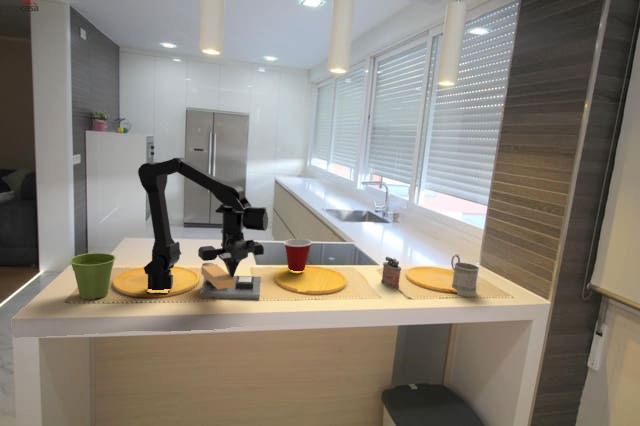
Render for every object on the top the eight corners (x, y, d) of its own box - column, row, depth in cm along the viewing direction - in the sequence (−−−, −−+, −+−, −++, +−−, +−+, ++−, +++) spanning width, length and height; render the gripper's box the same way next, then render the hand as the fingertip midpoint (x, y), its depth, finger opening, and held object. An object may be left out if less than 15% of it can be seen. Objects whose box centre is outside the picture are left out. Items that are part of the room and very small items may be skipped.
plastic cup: (281, 266, 164) (283, 236, 162) (308, 267, 165) (310, 238, 163) (281, 275, 153) (283, 243, 151) (310, 276, 154) (313, 245, 152)
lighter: (401, 287, 150) (404, 261, 149) (394, 289, 148) (397, 262, 147) (385, 280, 157) (388, 255, 155) (379, 281, 155) (381, 256, 153)
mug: (483, 296, 148) (488, 264, 146) (458, 296, 146) (463, 263, 144) (460, 282, 162) (464, 252, 160) (437, 282, 160) (441, 252, 158)
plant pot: (73, 289, 125) (72, 253, 123) (117, 287, 129) (117, 252, 127) (66, 305, 114) (65, 265, 112) (114, 301, 119) (114, 263, 117)
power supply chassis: (198, 297, 127) (199, 282, 126) (207, 278, 143) (207, 265, 142) (259, 299, 129) (260, 284, 128) (260, 280, 145) (261, 267, 145)
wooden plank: (198, 270, 135) (198, 263, 134) (213, 269, 137) (213, 262, 137) (217, 289, 120) (217, 281, 120) (234, 287, 123) (234, 279, 122)
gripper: (208, 236, 112) (208, 291, 115) (272, 231, 122) (270, 282, 124) (197, 227, 121) (197, 278, 124) (257, 223, 131) (256, 271, 134)
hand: (231, 278), depth 126 cm, fingers closed
